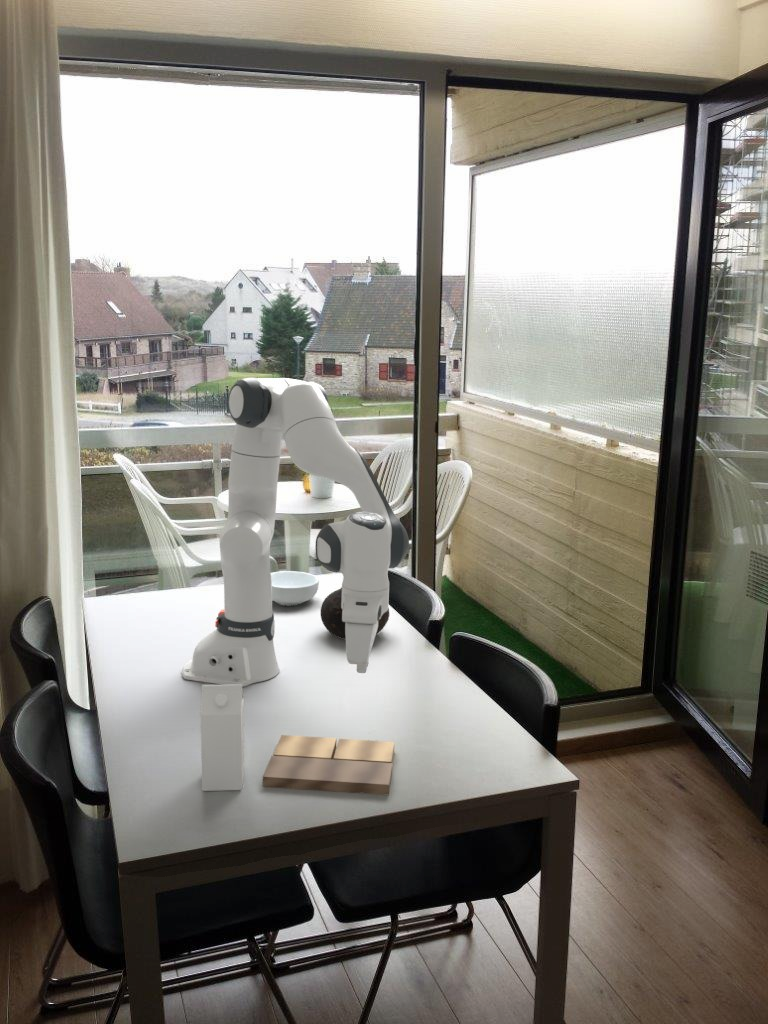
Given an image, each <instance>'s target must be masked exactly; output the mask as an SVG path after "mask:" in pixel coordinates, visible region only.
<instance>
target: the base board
mask: <svg viewBox="0 0 768 1024" xmlns="http://www.w3.org/2000/svg"><path fill="white" fill-rule="evenodd" d="M392 776H393V762H392V763H381V762H365V761H349V760H333V759H317V758H301V757H285V756H274V755H271V756H270V759H269V761H268V764H267V766H266V768H265V770H264V773H263V774H262V787H264V788H277V789H279V788H280V789H281V788H282V789H292V790H293V789H295V790H310V791H325V792H326V791H328V792H338V793H339V792H341V793H342V792H343V793H355V794H356V793H357V794H369V795H384V794H389V795H390V788H391V783H392Z"/></svg>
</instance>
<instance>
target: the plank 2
mask: <svg viewBox="0 0 768 1024" xmlns="http://www.w3.org/2000/svg"><path fill="white" fill-rule="evenodd" d="M394 755H395V741H383V740H369V739H368V740H367V739H352V738H338V740H337V743H336V751H335V754H334V758H333V760H349V761H365V762H381V763H392V764H393V762H394Z"/></svg>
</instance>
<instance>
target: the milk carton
mask: <svg viewBox="0 0 768 1024" xmlns="http://www.w3.org/2000/svg"><path fill="white" fill-rule="evenodd" d="M244 698H245V697H244V692H243V687H242V684H238V685H222V684H201V699H200V712H199V714H200V716H199V717H200V751H201V754H200V755H201V790H202V791H203V792H205V791H206V792H207V791H208V792H209V791H210V792H212V791H214V792H215V791H219V792H220V791H242V790H243V785H244V783H243V782H244V777H245V776H244V775H245V710H244V709H245V706H244V704H245V703H244V702H245V701H244Z"/></svg>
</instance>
